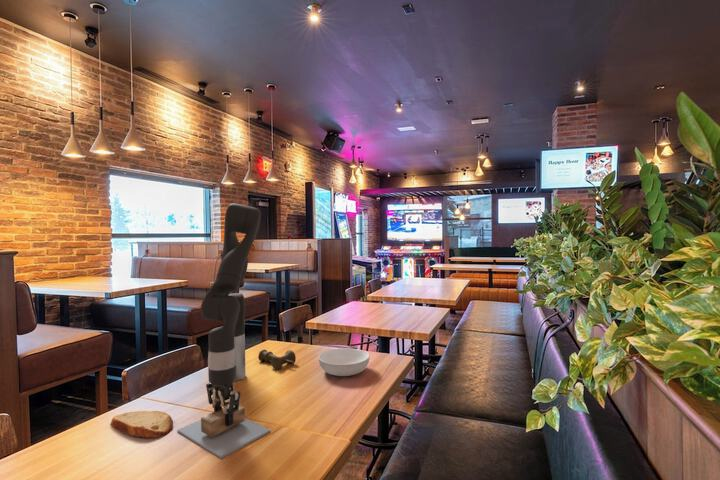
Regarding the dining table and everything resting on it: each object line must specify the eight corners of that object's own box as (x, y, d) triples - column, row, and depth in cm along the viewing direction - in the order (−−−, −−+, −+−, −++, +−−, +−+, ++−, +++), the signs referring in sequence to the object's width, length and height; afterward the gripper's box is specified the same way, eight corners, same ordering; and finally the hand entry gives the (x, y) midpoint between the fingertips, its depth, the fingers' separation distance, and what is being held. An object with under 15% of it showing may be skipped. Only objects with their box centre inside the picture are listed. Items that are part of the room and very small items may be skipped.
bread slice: (112, 420, 121) (112, 408, 121) (176, 409, 128) (175, 398, 127) (97, 451, 104) (97, 437, 104) (171, 436, 111) (171, 424, 111)
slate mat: (177, 431, 113) (177, 429, 113) (225, 410, 125) (225, 408, 125) (221, 458, 99) (221, 456, 99) (270, 431, 112) (270, 429, 112)
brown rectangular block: (234, 415, 118) (234, 402, 118) (244, 420, 115) (244, 406, 115) (201, 431, 109) (200, 416, 109) (211, 437, 106) (210, 422, 106)
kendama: (270, 358, 177) (302, 365, 165) (253, 365, 169) (285, 373, 157) (269, 345, 177) (301, 352, 165) (252, 351, 169) (285, 359, 157)
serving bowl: (379, 368, 161) (379, 352, 161) (351, 386, 143) (350, 368, 143) (338, 360, 172) (338, 344, 172) (307, 375, 154) (307, 358, 154)
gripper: (248, 365, 110) (249, 424, 111) (219, 356, 119) (220, 410, 120) (225, 374, 104) (226, 435, 105) (196, 363, 113) (198, 420, 114)
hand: (223, 422), depth 112 cm, fingers closed on brown rectangular block, 4 cm apart
